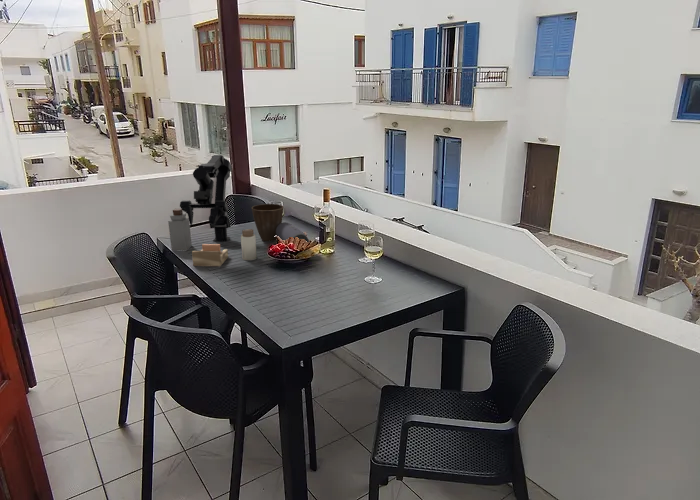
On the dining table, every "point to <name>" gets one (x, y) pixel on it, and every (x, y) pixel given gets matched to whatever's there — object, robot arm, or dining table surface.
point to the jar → (248, 245)
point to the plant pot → (267, 220)
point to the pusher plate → (211, 247)
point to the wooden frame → (209, 257)
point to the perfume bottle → (179, 231)
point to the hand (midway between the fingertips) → (202, 224)
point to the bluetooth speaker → (289, 232)
